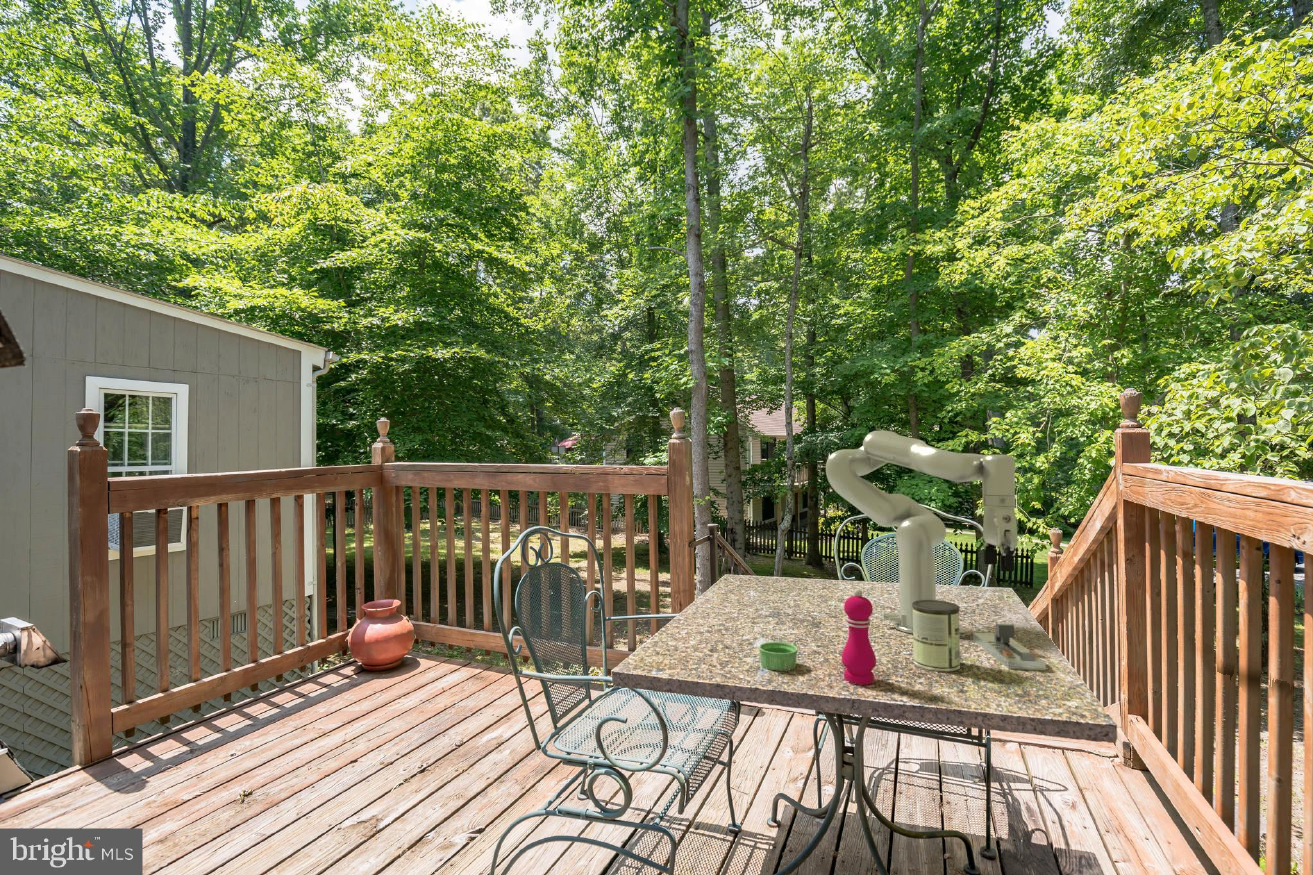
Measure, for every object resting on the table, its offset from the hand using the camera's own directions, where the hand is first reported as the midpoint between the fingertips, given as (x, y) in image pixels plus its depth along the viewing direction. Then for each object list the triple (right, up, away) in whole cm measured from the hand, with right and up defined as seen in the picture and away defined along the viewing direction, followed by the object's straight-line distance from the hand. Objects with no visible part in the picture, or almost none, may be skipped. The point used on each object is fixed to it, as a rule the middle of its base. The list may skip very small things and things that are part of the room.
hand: (998, 567), depth 169 cm
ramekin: (-60, -20, -16) cm, 66 cm away
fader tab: (-2, -17, -7) cm, 19 cm away
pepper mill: (-45, -20, -26) cm, 56 cm away
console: (-3, -20, -8) cm, 22 cm away
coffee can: (-23, -20, -16) cm, 34 cm away
